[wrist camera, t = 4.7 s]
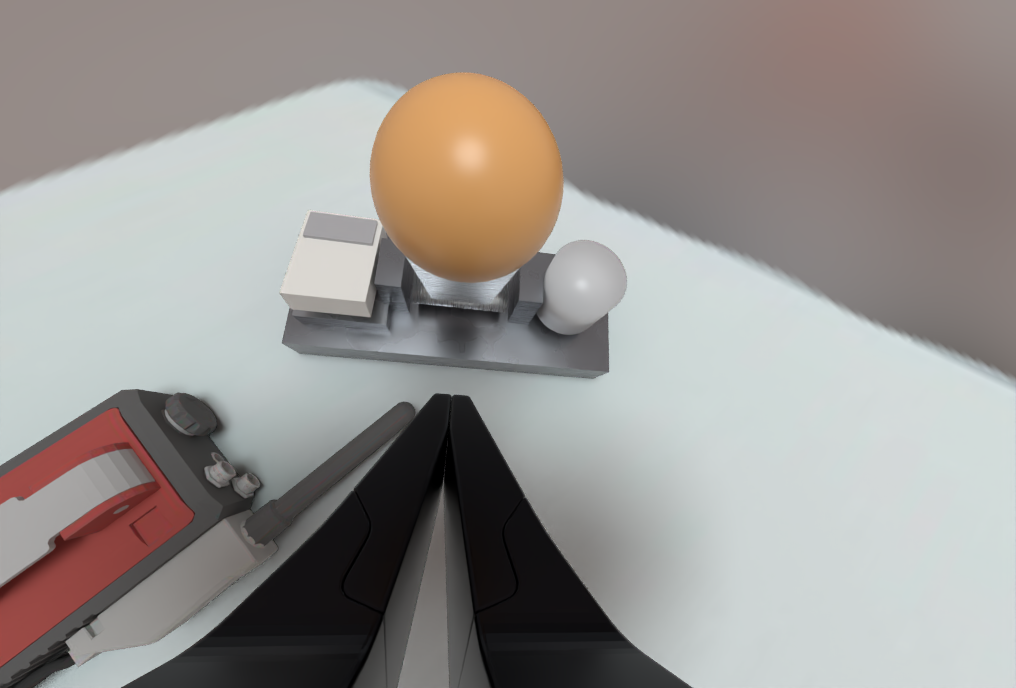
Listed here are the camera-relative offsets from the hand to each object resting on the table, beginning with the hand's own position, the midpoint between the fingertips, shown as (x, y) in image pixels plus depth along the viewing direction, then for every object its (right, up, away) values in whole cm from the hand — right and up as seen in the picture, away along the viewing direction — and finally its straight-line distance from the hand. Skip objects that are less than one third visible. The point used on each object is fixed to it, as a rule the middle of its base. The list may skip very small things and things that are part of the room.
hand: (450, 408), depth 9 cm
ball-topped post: (-1, +4, +7) cm, 8 cm away
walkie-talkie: (-13, -5, +7) cm, 16 cm away
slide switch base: (-1, +3, +11) cm, 11 cm away
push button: (+4, +3, +9) cm, 11 cm away
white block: (-5, +5, +6) cm, 9 cm away
